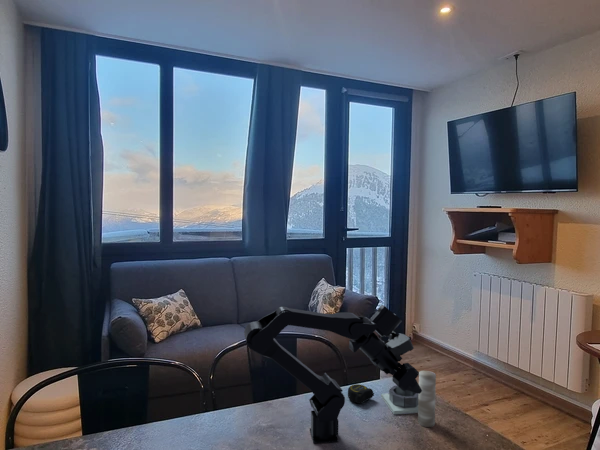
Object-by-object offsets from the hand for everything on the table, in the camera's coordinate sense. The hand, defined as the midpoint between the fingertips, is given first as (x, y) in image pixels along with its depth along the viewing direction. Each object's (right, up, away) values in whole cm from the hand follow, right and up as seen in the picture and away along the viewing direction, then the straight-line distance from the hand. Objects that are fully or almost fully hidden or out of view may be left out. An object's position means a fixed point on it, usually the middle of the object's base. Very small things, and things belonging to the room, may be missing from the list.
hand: (412, 384), depth 113 cm
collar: (+1, -11, +12) cm, 16 cm away
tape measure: (-12, -11, +15) cm, 22 cm away
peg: (+5, -11, +2) cm, 12 cm away
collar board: (+1, -11, +12) cm, 16 cm away
